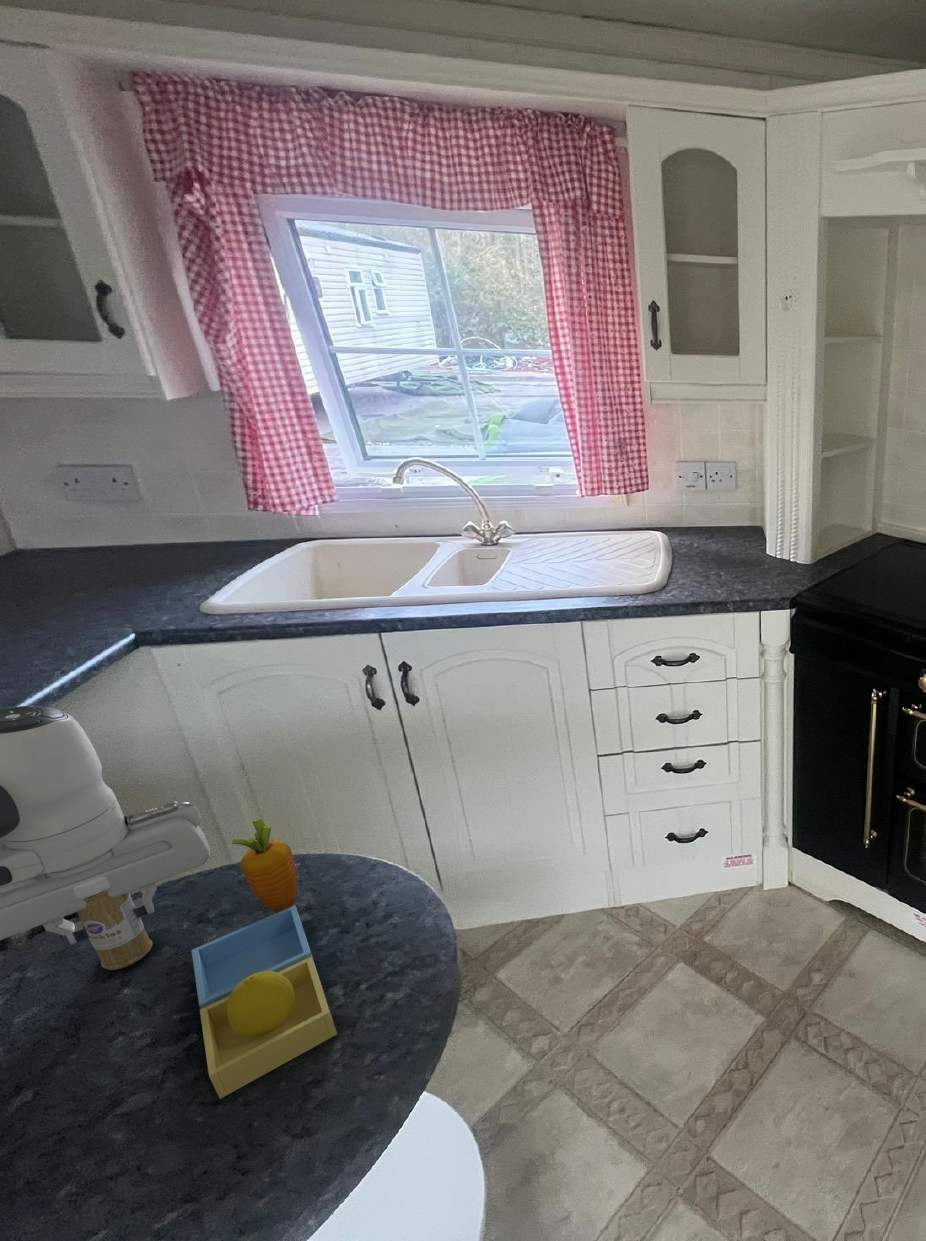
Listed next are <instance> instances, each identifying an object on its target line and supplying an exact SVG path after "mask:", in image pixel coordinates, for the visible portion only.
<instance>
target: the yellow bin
mask: <svg viewBox="0 0 926 1241" xmlns="http://www.w3.org/2000/svg"><path fill="white" fill-rule="evenodd" d="M312 957H313V956H312ZM312 957H309V958H307V959H306V960H303V961H301V962H299V963H296V964H294V965H292V966H290V967H288V968H286V969H284V970H282V971H280V972H278V973H280V974H282V975H283V976H284V977H286V978H287V979H288V980H289V981H290V983H291V985H292V987H293V990H294V993H295V1002H294V1007H293V1009H292V1012H291V1014H290V1015H289V1017H288V1018H287V1020H286V1021H285V1022H284V1023H283V1024H282V1025H281V1026H280V1027H278V1028H277V1029H276V1030H274V1031H272V1032H271V1033H268V1034H266V1035H263V1036H259V1037H246V1036H243V1035H241V1034H239V1033H237V1032H236V1031H235V1030H234V1029H233V1028H232V1026H231V1025H230V1023H229V1021H228V1017H227V1003H228V1000H229V997H230V996H228V997H225V998H223V999H221V1000H219V1001H217V1002H215V1003H213V1004H211V1005H209V1006H207V1007H205V1008H202V1009H200V1008H199V1015H200V1022H201V1029H202V1036H203V1043H204V1050H205V1051H204V1052H205V1057H206V1058H205V1059H206V1064H207V1072H208V1077H209V1079H210V1082H211V1083H212V1085H213V1088H214V1090H215V1093H216V1094H217V1096H218V1099H220V1100H221V1099H224V1098H225V1097H226V1096H228V1095H230V1094H232V1093H234V1092H236V1091H237V1090H239V1089H241V1088H243V1087H244V1086H246V1085H249V1084H250V1083H252V1082H254V1081H255V1080H257V1079H259V1078H261V1077H262V1076H264V1075H266V1074H268V1073H270V1072H271V1071H273V1070H275V1069H278V1067H281V1066H283V1065H284V1064H286V1063H288V1062H290V1061H292V1060H293V1059H295V1058H297V1057H298V1056H300V1055H303V1054H304V1053H306V1052H308V1051H310V1050H312V1049H313V1048H315V1047H317V1046H319V1045H320V1044H322V1043H324V1042H326V1041H328V1040H330V1039H331V1038H333V1037H335V1036H337V1035H338V1032H337V1028H336V1026H335V1023H334V1020H333V1017H332V1013H331V1010H330V1007H329V1004H328V1001H327V998H326V994H325V991H324V988H323V985H322V983H321V982H322V981H321V979H320V976H319V972H318V970H316V969H317V966H316V964H314V963H315V961H314V962H313V960H314V958H313V959H312ZM315 966H316V967H315ZM317 972H318V973H317Z"/></svg>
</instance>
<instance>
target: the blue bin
mask: <svg viewBox="0 0 926 1241" xmlns="http://www.w3.org/2000/svg"><path fill="white" fill-rule="evenodd" d="M190 952H191V958H192V964H193V972H194V978H195V986H196V993H197V994H196V995H197V1002H198V1006H199V1010H200V1009H202V1008H205V1007H207V1006H209V1005H211V1004H213V1003H215V1002H217V1001H219V1000H221V999H223V998H225V997H228V996H230V995H231V993H232V991H233V990H234V988H235V987H236V986H237V985H238V984H239V983H240V982H241V981H243V980H244V979H245V978H247V977H249V976H250V975H253V974H255V973H258V972H262V971H274V972H280V971H282V970H284V969H286V968H288V967H290V966H292V965H294V964H296V963H299V962H301V961H303V960H306V959H307V958H309V957H312V959H313V962H314V964H315V959H314V957H313V954H312V950H311V947H310V945H309V941H308V938H307V935H306V932H305V929H304V925H303V923H302V919H301V917H300V913H299V912H298V909H297V906H296V905H295V904H294V905H293V906H292V907H290V908H287V909H285V910H283V911H280V912H278V913H273V914H271V915H269V916H266V917H264V918H262V919H259V920H257V921H255V922H252V923H250V924H248V925H246V926H244V927H241V928H238V929H237V930H235V931H231V932H229V933H227V934H225V935H223V936H221V937H218V938H216V939H213V940H211V941H209V942H206V943H204V944H202V945H199V946H198V947H195V948H193V949H191V951H190ZM315 967H316V970H317V966H316V964H315ZM317 973H318V974H319V972H318V970H317Z"/></svg>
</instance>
